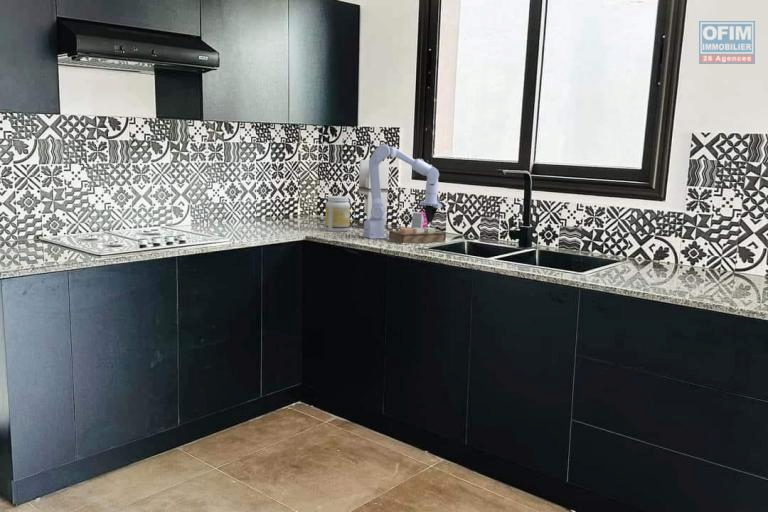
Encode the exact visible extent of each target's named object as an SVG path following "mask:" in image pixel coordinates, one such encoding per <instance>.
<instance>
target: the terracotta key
mask: <svg viewBox="0 0 768 512" xmlns="http://www.w3.org/2000/svg"><path fill="white" fill-rule="evenodd" d="M399 231H400V232H401V233H413V229H411V228H408V227H402V228H399Z"/></svg>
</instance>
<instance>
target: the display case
mask: <svg viewBox="0 0 768 512" xmlns="http://www.w3.org/2000/svg"><path fill="white" fill-rule="evenodd" d="M369 160H370V159H359V175H358V194H361V195H364V209H363V210H364V213H365V214H366V217H365V218H366V219H365V220H367V219H370V217H371V209H372V194H371V183H370V171H369ZM379 175H380V187H381V198H382V205H383V207H384V209H385V213H384V215H383V217H384V218H385V228H384V230H386V229H387V214H388V213H387V211H388V197H389V196H388V194H389V193H388V191H389V175H390V161H385V160H383V161H382V162H381V163H380V164H379ZM356 227H357V228H361V229H363V230H364V222H356Z"/></svg>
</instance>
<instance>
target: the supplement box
mask: <svg viewBox="0 0 768 512" xmlns="http://www.w3.org/2000/svg"><path fill="white" fill-rule="evenodd" d="M411 216H412V219H411V228H422V229H423V228H426V227H428V222H427V218H426V213H425V212H423V211H413V212H412V215H411Z"/></svg>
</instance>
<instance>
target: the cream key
mask: <svg viewBox="0 0 768 512" xmlns="http://www.w3.org/2000/svg"><path fill="white" fill-rule="evenodd" d="M410 229H413V232H414V233H424V229H422V228H412V227H411V228H410Z"/></svg>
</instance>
